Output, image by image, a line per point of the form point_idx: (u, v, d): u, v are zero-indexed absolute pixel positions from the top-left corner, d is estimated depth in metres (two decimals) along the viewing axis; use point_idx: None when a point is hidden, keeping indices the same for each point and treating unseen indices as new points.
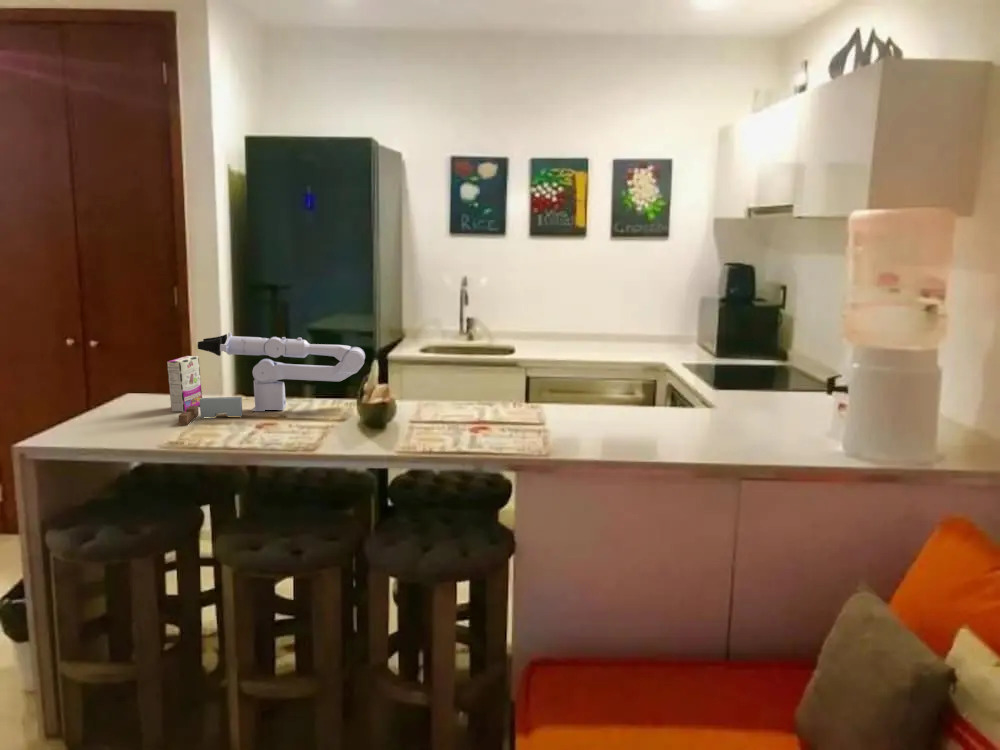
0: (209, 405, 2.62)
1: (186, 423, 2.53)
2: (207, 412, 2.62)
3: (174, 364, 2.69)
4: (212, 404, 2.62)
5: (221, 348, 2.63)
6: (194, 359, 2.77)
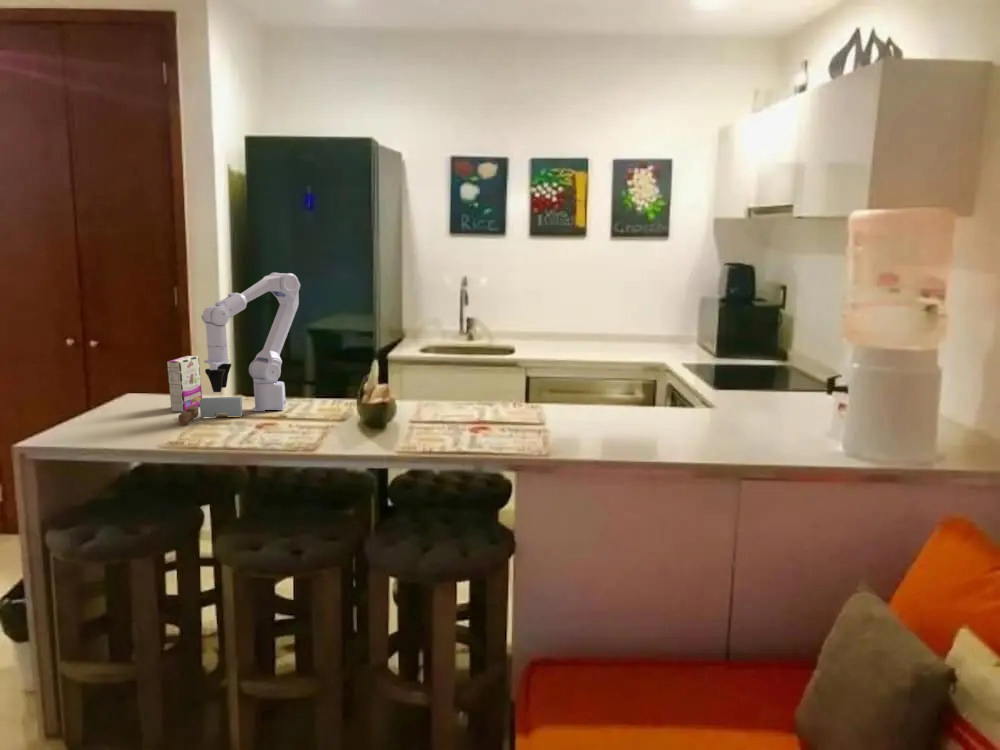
0: (209, 405, 2.62)
1: (186, 423, 2.53)
2: (207, 412, 2.62)
3: (174, 364, 2.69)
4: (212, 404, 2.62)
5: (213, 368, 2.54)
6: (194, 359, 2.77)
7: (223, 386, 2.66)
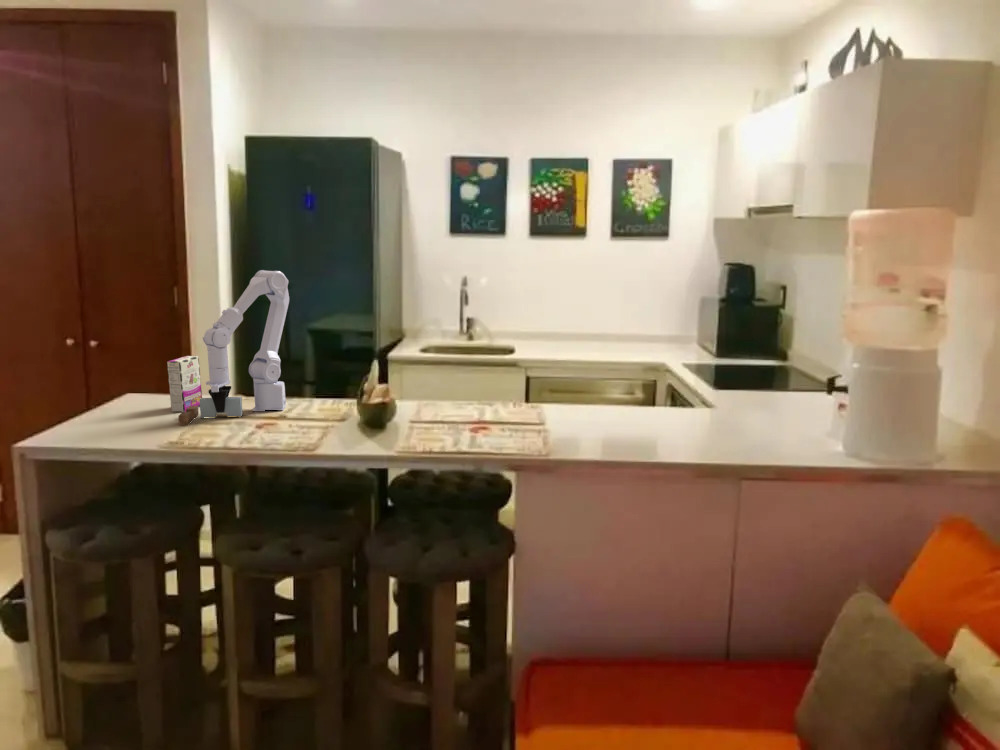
0: (209, 405, 2.62)
1: (186, 423, 2.53)
2: (207, 412, 2.62)
3: (174, 364, 2.69)
4: (212, 404, 2.62)
5: (215, 390, 2.55)
6: (194, 359, 2.77)
7: None
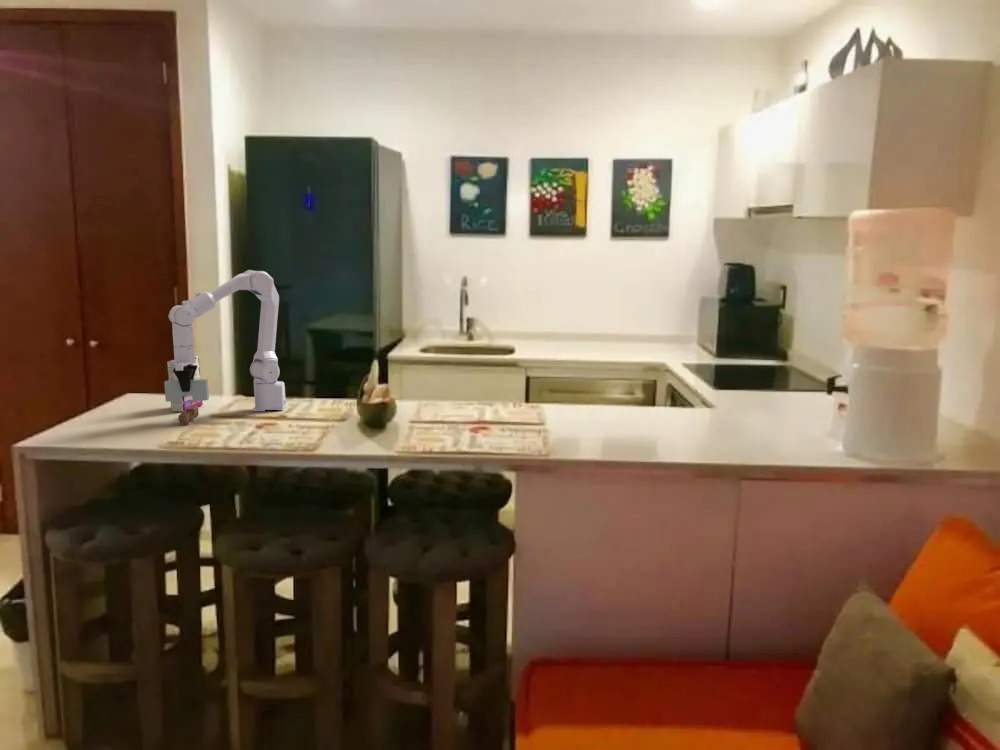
0: (174, 388, 2.57)
1: (186, 423, 2.53)
2: (172, 395, 2.57)
3: (174, 364, 2.69)
4: (177, 386, 2.57)
5: (179, 369, 2.50)
6: None
7: None
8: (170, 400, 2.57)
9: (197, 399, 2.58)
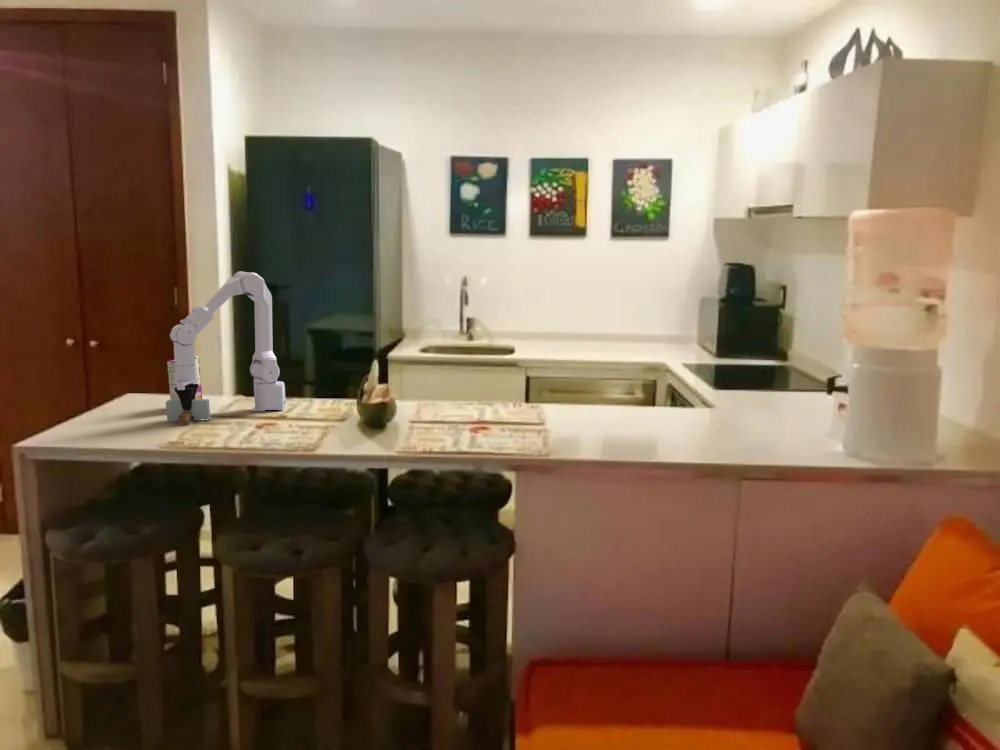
0: (176, 408, 2.58)
1: (186, 423, 2.53)
2: (173, 415, 2.58)
3: (174, 364, 2.69)
4: (179, 406, 2.58)
5: (181, 388, 2.51)
6: None
7: None
8: (172, 420, 2.59)
9: (198, 419, 2.59)
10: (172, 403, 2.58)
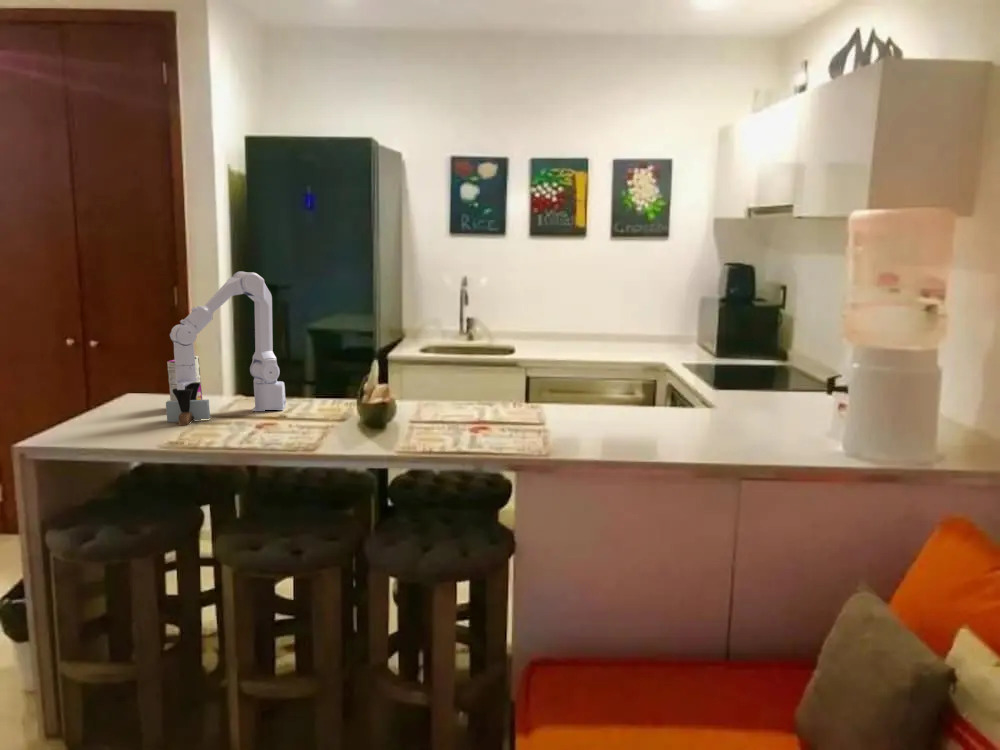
0: (176, 408, 2.58)
1: (186, 423, 2.53)
2: (173, 416, 2.58)
3: (174, 364, 2.69)
4: (178, 407, 2.58)
5: (181, 388, 2.51)
6: None
7: None
8: (171, 420, 2.59)
9: (198, 419, 2.59)
10: (172, 403, 2.58)
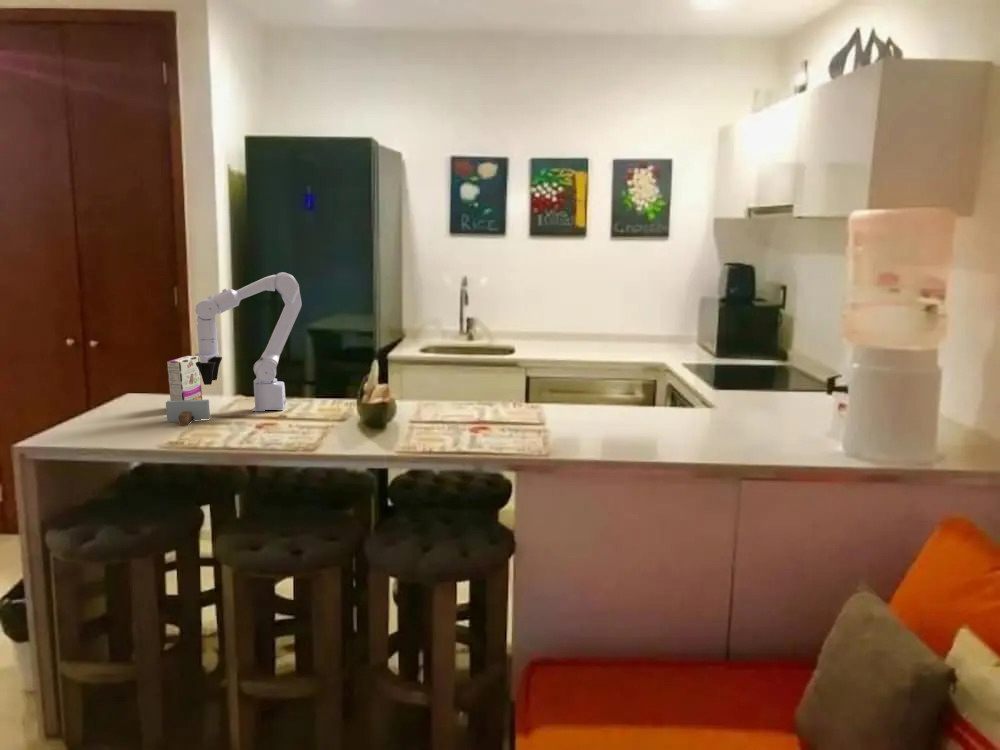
0: (176, 408, 2.58)
1: (186, 423, 2.53)
2: (173, 416, 2.58)
3: (174, 364, 2.69)
4: (178, 407, 2.58)
5: (204, 361, 2.60)
6: (194, 359, 2.77)
7: (214, 379, 2.71)
8: (171, 420, 2.59)
9: (198, 419, 2.59)
10: (172, 403, 2.58)
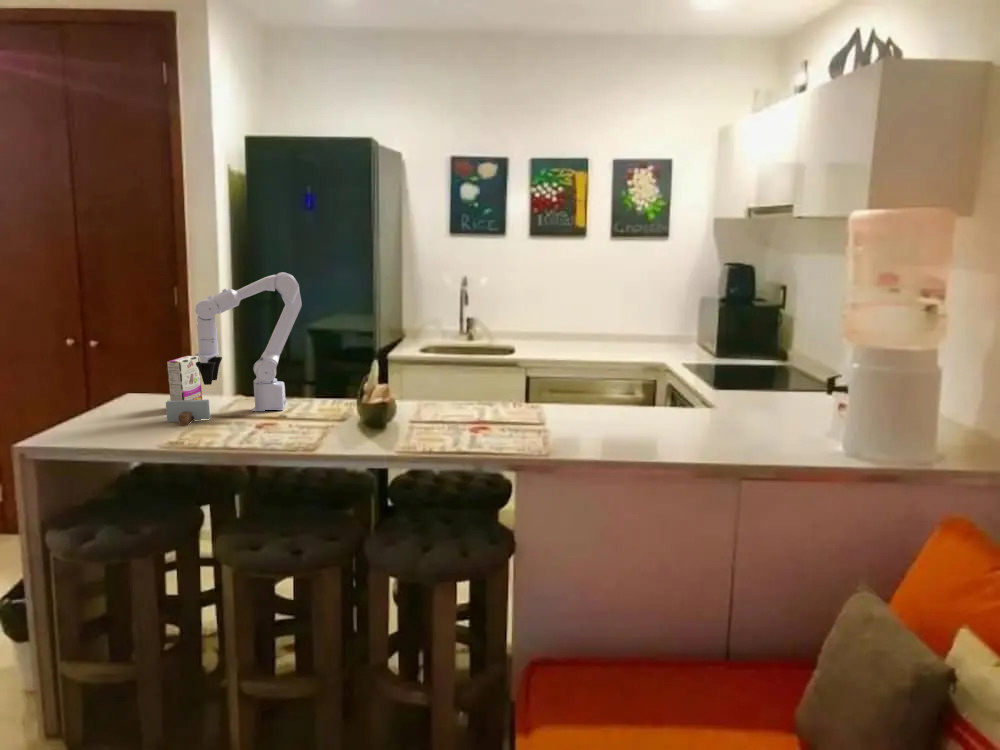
0: (176, 408, 2.58)
1: (186, 423, 2.53)
2: (173, 416, 2.58)
3: (174, 364, 2.69)
4: (178, 407, 2.58)
5: (204, 361, 2.60)
6: (194, 359, 2.77)
7: (214, 379, 2.71)
8: (171, 420, 2.59)
9: (198, 419, 2.59)
10: (172, 403, 2.58)
